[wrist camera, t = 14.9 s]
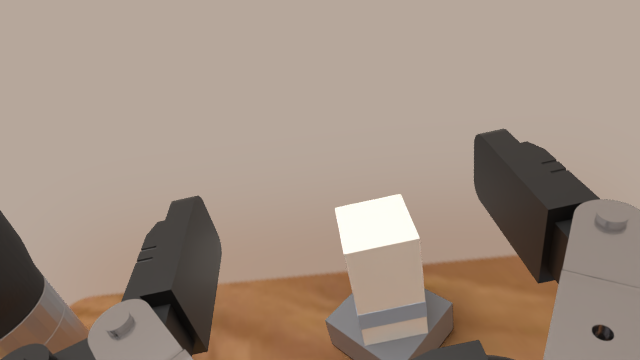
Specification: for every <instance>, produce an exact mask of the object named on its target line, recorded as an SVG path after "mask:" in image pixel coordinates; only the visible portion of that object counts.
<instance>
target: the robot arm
mask: <svg viewBox="0 0 640 360" xmlns="http://www.w3.org/2000/svg"><path fill="white" fill-rule="evenodd" d="M474 184H475V189H476V193H477V195H478V198H479V200H480V201H481V203H482V204H483V205H484V207H485V208H486V210H487V211H488V213H489V214H490V216H491V217H492V218H493V220H494V221H495V223H496V224H497V225H498V227H499V228H500V230H501V231H502V233H503V234H504V236H505V237H506V238H507V240H508V241H509V243H510V244H511V245H512V247H513V248H514V250H515V251H516V253H517V254H518V255H519V257H520V258H521V260H522V261H523V263H524V264H525V265H526V267H527V268H528V270H529V271H530V273H531V274H532V275H533V277H534V278H535V280H536V281H537V283H543V282H548V281H553V280H556V281H557V283H558V284H559V285H558V290H557V295H556V300H555V305H554V310H553V315H552V319H551V324H550V329H549V334H548V339H547V344H546V349H545V353H544V358H543V360H640V210H639V209H638V208H636V207H634V206H632V205H629V204H627V203H623V202H620V201H615V200H607V199H604V200H603V199H600V198H599V197H597V196H596V195H595V194H594V193H593V192H592V191H591V190H590V189H589V188H587V187H586V186H585V185H584V184H583V183H582V182H581V181H580V180H578V179H577V178H576V177H575V176H574V175H573V174H572V173H571V172H569V171H566V168H565V167H564V166H563V165H562V164H561V163H560V162H557V161H556V159H555V158H554V157H553V156H552V155H550V153H548V152H547V151H546V150H545V149H543V148H541V147H539V146H536V145H534V144H531V143H529V142H523V143H519V141H518V140H516V139H515V138H514V137H513V136H512V135H511V134H510V133H509V132H508V131H507V130H506V129H500V130H495V131H491V132H486V133H482V134H478V135H476V137H475V140H474ZM141 250H142V252H140V254H139V256H138V259H137V263H136V264H135V267H134V269H133V272H132V275H131V277H130V280H129V283H128V285H127V288H126V290H125V293H124V296H123V298H122V301H121V302H120V303H118V304H116V305H114V306H112V307H111V308H109V309H108V310H107V311H105V312H104V313H103V314H102V315H101V316H100V317H99V318H98V319H97V320H96V321H95V323H94V324H93V325H92V327H91V329H90V331H88V330H87V328H86V327H85V326H84V325H83V323H82V322H81V321H80V320H79V319H78V317H77V316H76V315H75V314H74V312H73V311H72V310H71V309H70V308H69V306H68V305H67V304H66V303H65V302H64V300H63V299H62V298H61V297H60V295H59V294H58V293H57V292H56V291H55V289H54V288H53V287H52V286H51V285H50V283H49V282H48V281H47V280H46V278H45V277H44V276H43V275H42V274H41V272H40V271H39V270H38V269H37V267H36V266H35V265H34V263H33V261H32V259H31V257H30V255H29V253H28V251H27V249H26V247H25V245H24V244H23V242H22V240H21V238H20V237H19V235H18V234H17V233H16V231H15V230H14V228H13V227H12V226H11V224H10V223H9V222H8V220H7V219H6V218H5V216H4V215H3V213H2V212H1V211H0V360H193V359H192V355H193V354H198V353H203V352H208V346H209V339H210V332H211V325H212V318H213V311H214V304H215V297H216V290H217V283H218V276H219V269H220V262H221V254H222V252H221V243H220V239H219V236H218V234H217V231H216V229H215V227H214V224H213V222H212V220H211V218H210V216H209V213H208V211H207V209H206V207H205V205H204V202H203V200H202V199H201V197H199V196H194V197H190V198H185V199H181V200H176V201H173V202H172V203H171V205H170V208H169V211H168V214H167V217H166V219H165V221H160V222H157V224H156V225H155V226H154V227H153V228H152V229H151V231H150V232H149V233H148V234H147V235H146V238H145V240H144V243H143V246H142V248H141ZM411 360H514V359H510V358H507V357H500V356H494V355H486V354H485V352H484V349H483V347H482V345H481V343H480V341H479V340H476V341H471V342H466V343H462V344H457V345H452V346H447V347H442V348H437V349H432V350H430V351H428V352H426V353H423V354H421V355H419V356H417V357H415V358H413V359H411Z"/></svg>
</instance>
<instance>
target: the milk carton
mask: <svg viewBox="0 0 640 360" xmlns="http://www.w3.org/2000/svg"><path fill="white" fill-rule="evenodd" d="M335 212H336V217H337V222H338V227H339V232H340V237H341V242H342V248H343V253H344V257H345V261H346V266H347V270H348V275H349V279H350V283H351V288H352V292H353V296H354V301H355V306H356V311H357V316H358V320H359V325H360V329H361V331H362V335H363V340H364V344H365V346H366V345H371V344H376V343H381V342H386V341H390V340H395V339H400V338H405V337H410V336H415V335H420V334H425V333H428V326H427V307H426V300H425V292H424V280H423V269H422V258H421V247H420V238H419V235H418V233H417V231H416V228H415V226H414V224H413V222H412V220H411V217H410V215H409V212H408V211H407V208H406V205H405V203H404V201H403V199H402V196H401V194H397V195H393V196H388V197H384V198H379V199H374V200H370V201H365V202H360V203H356V204H351V205H346V206H342V207H337V208H335Z"/></svg>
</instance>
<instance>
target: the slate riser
mask: <svg viewBox="0 0 640 360" xmlns="http://www.w3.org/2000/svg"><path fill="white" fill-rule="evenodd" d="M424 292H425V300H426V307H427V326H428V333H425V334H420V335H415V336H410V337H405V338H400V339H395V340H390V341H386V342H381V343H376V344H371V345H366V346H365V344H364V340H363V335H362V331H361V329H360V325H359V320H358V316H357V311H356V306H355V301H354V296H353V293H352V294H351V295H350V296H349V297H348V298H347V299H346V300H345V301H344V302H343V303H342V304H341V305H340V306H339V307H338V308H337V309H336V310H335V311H334V312H333V313H332V314H331V315H330V316H329V317H328V318H327V319H326V320H325V321H326V325H327V328H328V331H329V335H330V338H331V341H332V344H333V345H335V346H336V347H337V348H339V349H340V350H341V351H343V352H344V353H345V354H347V355H348V356H349V357H351V358H352V359H353V360H411V359H413V358H415V357H417V356H419V355H421V354H423V353H426V352H428V351H430V350H432V349H437V348H439V347H440V345H441V344H442V343H443V341H444V340H445V339H446V337H447V336H448V335H449V333H450V332H451V331H452V329H453V303H451V302H449V301H447V300H446V299H444V298H442V297H440V296H438V295H436V294H434V293H432V292H430V291H428V290H426V289H424Z"/></svg>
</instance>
